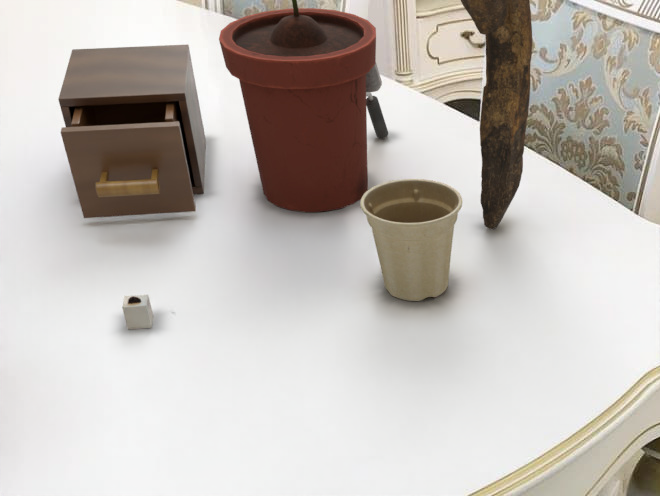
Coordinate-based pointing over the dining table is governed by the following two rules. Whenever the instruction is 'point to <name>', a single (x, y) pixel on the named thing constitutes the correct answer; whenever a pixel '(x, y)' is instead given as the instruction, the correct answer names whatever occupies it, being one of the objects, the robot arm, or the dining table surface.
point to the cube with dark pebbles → (137, 311)
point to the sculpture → (503, 99)
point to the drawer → (129, 159)
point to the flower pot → (413, 234)
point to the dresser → (138, 88)
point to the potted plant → (307, 102)
